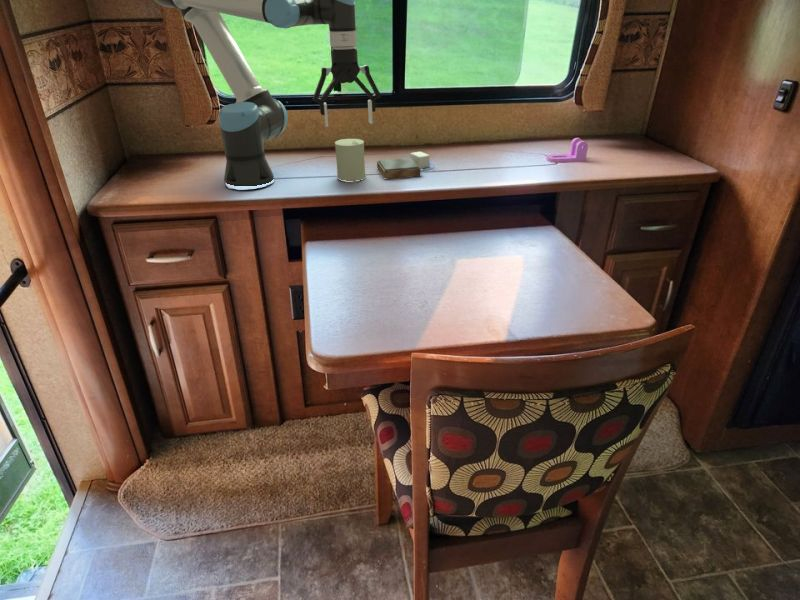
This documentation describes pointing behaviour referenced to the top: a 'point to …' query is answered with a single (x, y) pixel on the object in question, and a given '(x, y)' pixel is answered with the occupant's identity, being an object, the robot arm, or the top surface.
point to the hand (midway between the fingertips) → (348, 124)
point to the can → (350, 159)
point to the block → (420, 159)
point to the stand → (398, 168)
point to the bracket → (571, 153)
